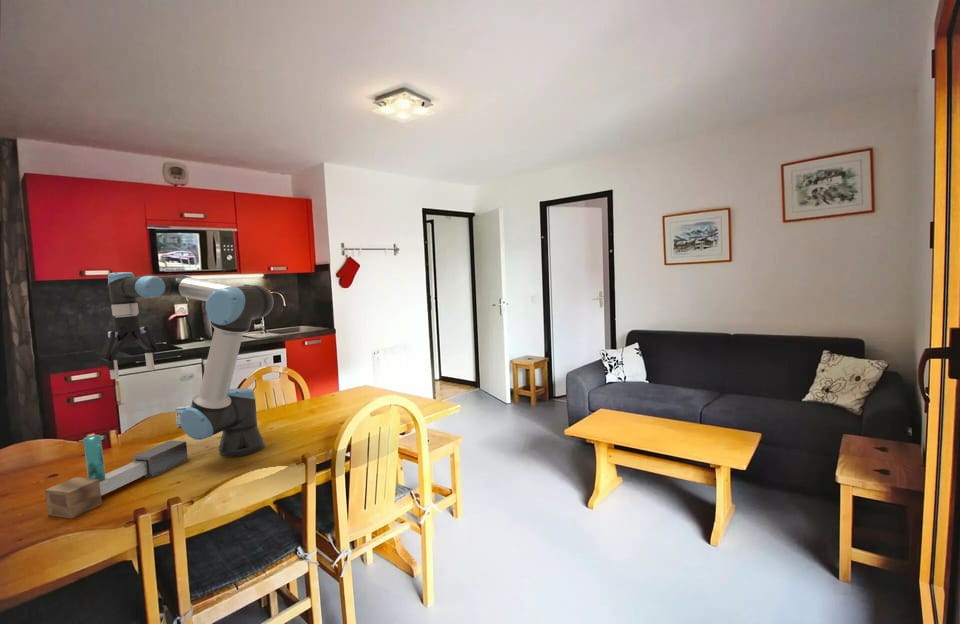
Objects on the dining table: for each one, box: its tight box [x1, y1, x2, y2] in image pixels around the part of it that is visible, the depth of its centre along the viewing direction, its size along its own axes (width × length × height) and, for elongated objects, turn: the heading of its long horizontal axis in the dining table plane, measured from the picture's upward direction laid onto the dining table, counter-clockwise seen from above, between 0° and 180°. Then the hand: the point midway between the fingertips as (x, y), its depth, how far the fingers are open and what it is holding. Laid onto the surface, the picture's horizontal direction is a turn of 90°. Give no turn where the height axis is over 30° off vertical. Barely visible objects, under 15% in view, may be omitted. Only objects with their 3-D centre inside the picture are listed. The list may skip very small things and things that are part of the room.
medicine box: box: [174, 405, 191, 427], centre depth 206 cm, size 8×4×9 cm, turn 99°
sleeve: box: [132, 440, 189, 478], centre depth 161 cm, size 14×7×7 cm, turn 166°
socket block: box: [44, 476, 103, 519], centre depth 134 cm, size 8×9×8 cm
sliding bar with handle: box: [82, 434, 149, 497], centre depth 144 cm, size 23×4×18 cm, turn 166°
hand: (133, 374), depth 169 cm, fingers open, 13 cm apart
